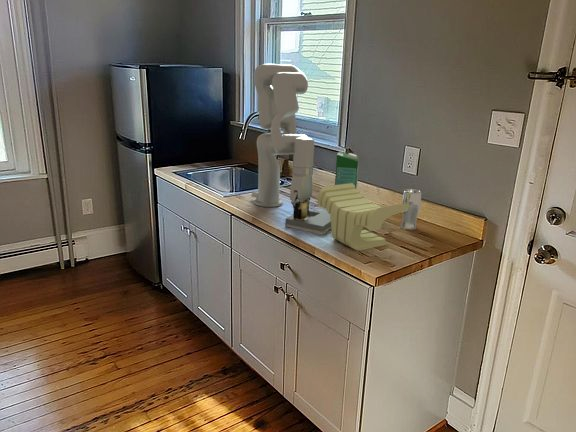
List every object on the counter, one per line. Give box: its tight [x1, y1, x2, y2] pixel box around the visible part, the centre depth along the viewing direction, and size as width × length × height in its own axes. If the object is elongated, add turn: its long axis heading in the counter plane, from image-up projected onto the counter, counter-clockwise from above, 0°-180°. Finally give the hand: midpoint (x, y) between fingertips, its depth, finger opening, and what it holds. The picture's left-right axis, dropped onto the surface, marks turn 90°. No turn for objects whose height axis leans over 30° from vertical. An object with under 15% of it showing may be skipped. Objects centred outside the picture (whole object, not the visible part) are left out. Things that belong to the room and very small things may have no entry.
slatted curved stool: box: [316, 183, 409, 251], centre depth 169 cm, size 30×16×18 cm, turn 31°
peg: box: [296, 199, 308, 221], centre depth 185 cm, size 5×5×9 cm
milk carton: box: [334, 150, 360, 189], centre depth 207 cm, size 9×9×25 cm
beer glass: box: [400, 188, 422, 231], centre depth 187 cm, size 7×7×15 cm
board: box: [284, 209, 332, 235], centre depth 188 cm, size 16×16×3 cm
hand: (300, 216), depth 185 cm, fingers closed on peg, 5 cm apart
